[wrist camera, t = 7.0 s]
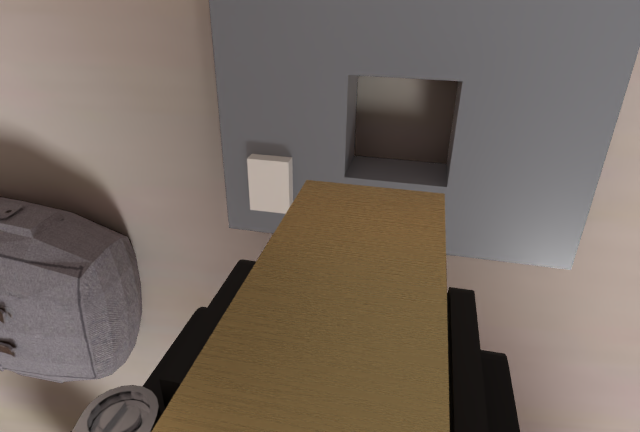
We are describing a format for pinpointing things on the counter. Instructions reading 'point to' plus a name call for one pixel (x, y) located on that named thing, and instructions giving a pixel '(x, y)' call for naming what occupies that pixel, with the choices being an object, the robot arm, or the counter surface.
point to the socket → (468, 119)
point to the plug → (332, 323)
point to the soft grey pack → (65, 294)
